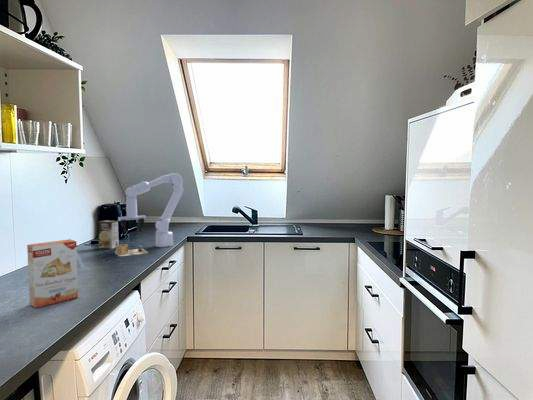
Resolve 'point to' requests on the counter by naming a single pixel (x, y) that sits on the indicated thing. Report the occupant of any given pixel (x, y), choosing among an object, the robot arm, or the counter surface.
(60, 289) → the cracker box
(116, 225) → the coffee box
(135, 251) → the maple board
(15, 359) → the counter surface
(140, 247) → the stand rod
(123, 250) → the bronze ring
